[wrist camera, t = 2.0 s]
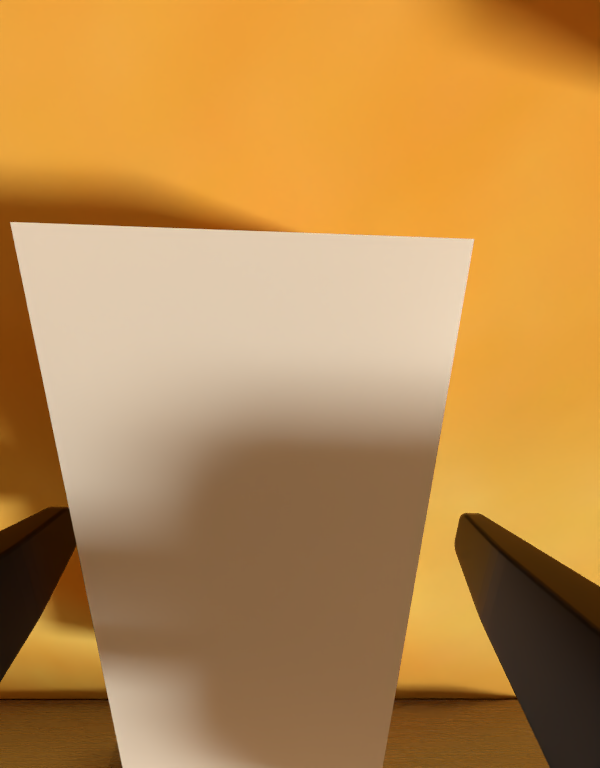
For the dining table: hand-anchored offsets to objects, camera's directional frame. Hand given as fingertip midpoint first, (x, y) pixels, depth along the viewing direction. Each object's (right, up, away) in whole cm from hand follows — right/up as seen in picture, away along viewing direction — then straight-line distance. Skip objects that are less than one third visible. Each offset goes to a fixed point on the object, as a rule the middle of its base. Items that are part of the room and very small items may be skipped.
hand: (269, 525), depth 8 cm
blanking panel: (0, 0, +2) cm, 2 cm away
